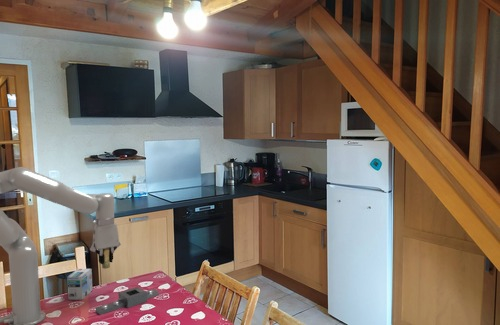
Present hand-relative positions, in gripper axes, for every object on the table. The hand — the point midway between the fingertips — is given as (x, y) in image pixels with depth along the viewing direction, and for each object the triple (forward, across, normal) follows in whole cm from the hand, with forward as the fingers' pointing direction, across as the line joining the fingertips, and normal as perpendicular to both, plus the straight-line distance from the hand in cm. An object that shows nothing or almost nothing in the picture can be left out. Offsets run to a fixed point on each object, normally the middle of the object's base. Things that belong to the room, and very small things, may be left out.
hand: (106, 262), depth 165 cm
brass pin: (+2, 0, 0) cm, 2 cm away
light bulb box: (+18, -6, +15) cm, 24 cm away
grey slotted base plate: (+17, +6, -9) cm, 20 cm away
